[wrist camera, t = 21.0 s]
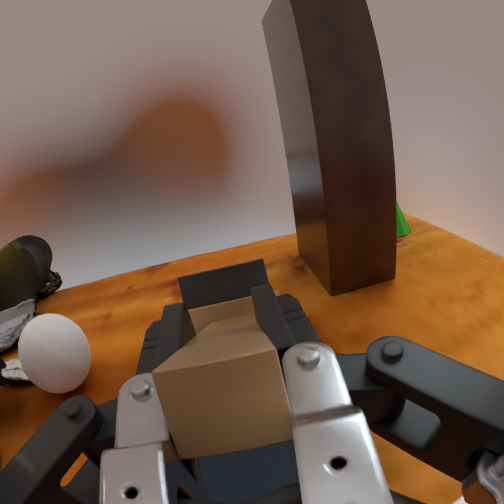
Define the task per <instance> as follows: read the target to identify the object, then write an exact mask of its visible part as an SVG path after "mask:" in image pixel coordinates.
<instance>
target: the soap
mask: <svg viewBox="0 0 504 504" xmlns="http://www.w3.org/2000/svg"><path fill="white" fill-rule="evenodd" d="M4 362H5V361H4ZM5 363H6V368H5V369H2V376H3V377H4V378H7V379H11V380H18V381H19V380H25V381H28V380H30V379H29V378H28V377H27V375H26V374H25V372H24V371H23V369H22V366H21V363H20V360H19V358H18V359H15V358H13V359H11V360H9V361H8V362H5Z"/></svg>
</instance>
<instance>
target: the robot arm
mask: <svg viewBox="0 0 504 504" xmlns="http://www.w3.org/2000/svg"><path fill="white" fill-rule="evenodd" d="M250 290H251V296H252V301H253V306H254V311H255V316H256V321H257V323H258V325H259V326H260V328H261V329H262V331H263V332H264V333H265V334H266V335H267V337H268V338H269V339H270V341H271V342H272V344H273V345H274V346H275V348H276V349H277V353H278V357H279V362H280V366H281V370H282V375H283V379H284V383H285V388H286V392H287V396H288V400H289V405H290V409H291V411H290V418H291V425H292V432H293V439H294V446H295V453H296V460H297V468H298V475H299V482H297V483H293V484H288V485H285V486H283V487H281V488H279V489H276V490H274V491H272V492H270V493H267V494H265V495H262V496H260V497H258V498H255V499H253V500H250V501H247V502H245V503H240V504H425V503H422V502H420V501H417V500H414V499H412V498H409V497H407V496H404V495H402V494H399V493H397V492H394V491H392V490H390V489H389V486H388V483H387V480H386V477H385V474H384V471H383V468H382V465H381V462H380V459H379V456H378V453H377V450H376V447H375V444H374V441H373V438H372V435H371V433H370V430H371V431H373V432H374V433H376V434H377V435H379V436H380V437H382V438H384V439H385V440H387V441H389V442H390V443H392V444H394V445H395V446H397V447H399V448H400V449H402V450H404V451H405V452H407V453H409V454H410V455H412V456H414V457H416V458H417V459H419V460H421V461H423V462H424V463H426V464H428V465H430V466H432V467H433V468H435V469H437V470H439V471H441V472H443V473H444V474H446V475H448V476H450V477H452V478H454V479H456V480H458V481H460V482H462V483H463V484H462V494H463V497H464V500H465V502H467V503H468V504H504V381H503V380H501V379H498V378H496V377H494V376H491V375H489V374H486V373H484V372H482V371H479V370H477V369H475V368H472V367H470V366H468V365H465V364H463V363H461V362H458V361H456V360H454V359H451V358H449V357H447V356H444V355H442V354H440V353H437V352H435V351H433V350H430V349H428V348H426V347H424V346H421V345H419V344H417V343H414V342H412V341H410V340H408V339H405V338H402V337H398V336H385V337H381V338H379V339H377V340H375V341H373V342H372V343H371V344H370V345H369V347H368V348H367V352H366V353H362V354H338V353H335V352H334V351H333V350H332V348H331V347H329V346H328V345H326V344H324V343H321V342H320V340H319V338H318V336H317V334H316V332H315V331H314V329H313V327H312V325H311V323H310V321H309V320H308V318H307V317H306V314H305V312H304V311H303V310H302V307H301V305H300V303H299V301H298V300H297V299H296V298H294V297H292V296H291V295H289V294H284V295H280V296H276V295H275V293H274V291H273V289H272V286H271V284H267V285H262V286H258V287H253V288H250ZM195 336H196V332H195V329H194V326H193V323H192V320H191V317H190V314H189V311H188V308H187V305H186V303H185V302H181V303H176V304H171V305H166V306H164V310H163V315H162V320H159V321H154V322H153V323H152V324H151V325H150V327H149V328H148V329H147V330H146V334H145V338H144V342H143V346H142V350H141V354H140V359H139V363H138V367H137V372H136V376H134V377H132V378H130V379H129V380H127V381H126V382H125V383H124V384H123V385H122V387H121V388H120V391H119V395H118V398H117V399H115V400H112V401H109V402H106V403H103V404H100V405H97V406H96V405H95V404H94V402H93V401H92V400H91V399H90V398H89V397H87V396H83V395H78V396H74V397H71V398H69V399H67V400H65V401H64V402H63V403H62V404H61V405H60V406H59V407H58V408H57V409H56V410H55V411H54V412H53V414H52V415H51V416H50V417H49V418H48V419H47V420H46V421H45V422H44V423H43V425H42V426H41V427H40V428H39V429H38V430H37V431H36V432H35V433H34V435H33V436H32V437H31V438H30V439H29V440H28V441H27V442H26V444H25V445H24V446H23V447H22V448H21V449H20V450H19V451H18V453H17V454H16V455H15V456H14V457H13V458H12V460H11V461H10V462H9V463H8V464H7V465H6V466H5V468H4V469H3V470H2V471H1V472H0V504H234V503H223V502H214V501H211V499H210V497H209V495H208V493H207V491H206V488H205V485H204V481H203V477H202V472H201V467H200V463H199V458H190V459H180V458H179V456H178V453H177V451H176V448H175V445H174V443H173V440H172V437H171V434H170V431H169V428H168V426H167V423H166V420H165V417H164V414H163V410H162V407H161V404H160V401H159V398H158V394H157V391H156V388H155V384H154V381H153V377H152V371H153V370H155V369H156V368H157V367H158V366H159V365H161V364H162V363H163V362H164V361H166V360H167V359H168V358H169V357H171V356H172V355H173V354H174V353H175V352H177V351H178V350H180V349H181V348H182V347H183V346H184V345H186V344H187V343H188V342H189V341H190V340H191V339H193V338H194V337H195ZM81 453H83V454H84V455H85V456H86V457H87V458H88V459H87V460H86V462H85V463H84V464H83V466H82V467H81V468H80V470H79V471H78V472H77V473H76V475H75V476H74V477H73V479H72V480H71V481H70V482H69V484H68V485H66V486H64V487H61V486H60V482H61V479H62V477H63V476H64V475H65V473H66V472H67V471H68V470H69V468H70V467H71V466H72V465H73V463H74V462H75V461H76V460H77V458H78V457H79V456H80V455H81Z"/></svg>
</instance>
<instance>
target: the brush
mask: <svg viewBox="0 0 504 504" xmlns="http://www.w3.org/2000/svg"><path fill="white" fill-rule="evenodd" d="M178 281H179V286H180V290H181V295H182V300H183V302H185V303H186V305H187V308H188V311H189V314H190V317H191V320H192V323H193V326H194V329H195V332H196V336H195V337H194V338H193V339H191V340H190V341H189V342H188V343H187V344H186V345H184V346H183V347H182V348H181V349H180V350H178V351H177V352H175V353H174V354H173V355H172V356H171V357H169V358H168V359H167V360H166V361H164V362H163V363H162V364H161V365H159V366H158V367H157V368H156V369H155V370H153V371H152V377H153V381H154V384H155V388H156V391H157V394H158V398H159V401H160V404H161V407H162V410H163V414H164V417H165V420H166V423H167V426H168V428H169V431H170V434H171V437H172V440H173V443H174V445H175V448H176V451H177V453H178V456H179V458H180V459H190V458H199V457H207V456H214V455H221V454H228V453H234V452H239V451H245V450H250V449H255V448H260V447H265V446H269V445H274V444H278V443H282V442H286V441H290V440H294V439H293V432H292V425H291V418H290V411H291V409H290V405H289V400H288V396H287V392H286V388H285V383H284V379H283V375H282V370H281V366H280V362H279V357H278V353H277V349H276V348H275V346H274V345H273V344H272V342H271V341H270V339H269V338H268V337H267V335H266V334H265V333H264V332H263V331H262V329H261V328H260V326H259V325H258V323H257V321H256V316H255V311H254V306H253V301H252V296H251V290H250V288H253V287H258V286H262V285H267V284H269V282H268V278H267V273H266V269H265V265H264V261H263V259H258V260H254V261H250V262H245V263H241V264H236V265H232V266H227V267H223V268H218V269H214V270H209V271H205V272H200V273H196V274H191V275H187V276H182V277H179V278H178ZM274 293H275V295H276V296H279V291H278V290H274Z"/></svg>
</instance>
